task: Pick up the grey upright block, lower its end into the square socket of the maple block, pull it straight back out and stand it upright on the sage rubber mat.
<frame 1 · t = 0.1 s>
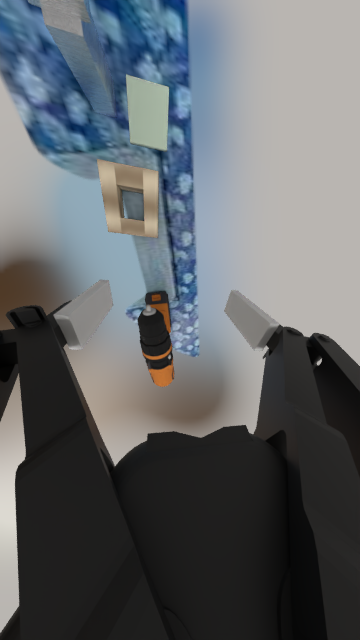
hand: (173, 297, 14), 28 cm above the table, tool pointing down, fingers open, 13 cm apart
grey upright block: (104, 97, 23), on the table
socket block: (134, 207, 31), on the table
mat: (148, 118, 24), on the table
power drill: (158, 303, 45), on the table
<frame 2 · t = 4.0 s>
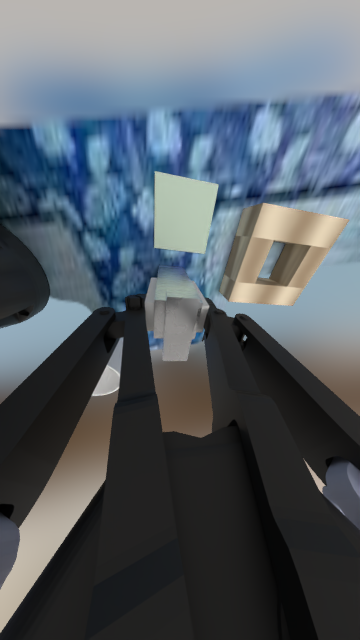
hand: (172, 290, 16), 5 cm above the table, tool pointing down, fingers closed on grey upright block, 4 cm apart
white cup: (114, 330, 25), on the table
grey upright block: (170, 278, 20), on the table, touching gripper
socket block: (262, 260, 20), on the table
mat: (183, 219, 16), on the table
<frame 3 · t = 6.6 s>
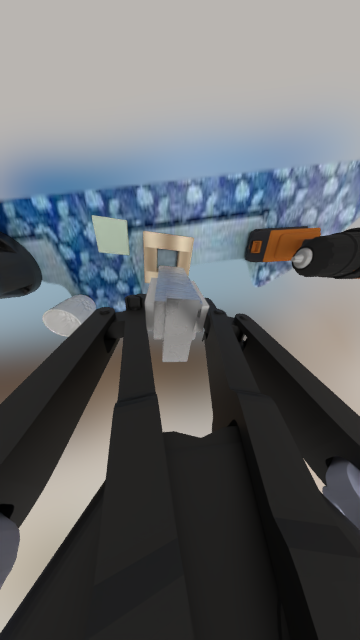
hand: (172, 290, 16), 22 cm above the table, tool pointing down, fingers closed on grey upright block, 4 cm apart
white cup: (84, 304, 39), on the table
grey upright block: (170, 278, 20), point 17 cm above the table, touching gripper
socket block: (167, 259, 34), on the table
mat: (112, 236, 31), on the table
power drill: (261, 244, 35), on the table
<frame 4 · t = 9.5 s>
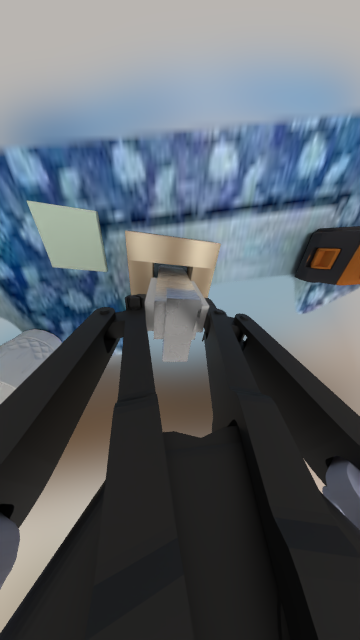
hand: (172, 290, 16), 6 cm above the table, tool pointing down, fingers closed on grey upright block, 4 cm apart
white cup: (44, 341, 26), on the table
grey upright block: (170, 278, 20), point 1 cm above the table, touching gripper
socket block: (170, 276, 21), on the table
mat: (74, 241, 17), on the table
power drill: (322, 253, 22), on the table
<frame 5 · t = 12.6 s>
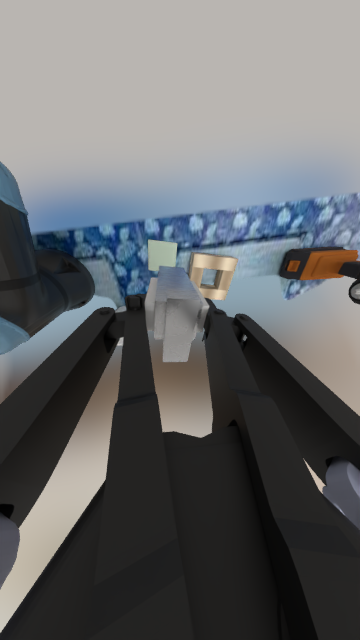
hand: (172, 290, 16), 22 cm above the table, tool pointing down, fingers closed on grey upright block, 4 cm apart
white cup: (126, 314, 43), on the table
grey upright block: (170, 278, 20), point 17 cm above the table, touching gripper
socket block: (207, 275, 37), on the table
mat: (162, 257, 34), on the table
power drill: (295, 262, 38), on the table
when the fingers open (7 cm above the table, at t = 15.2 s): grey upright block drops 1 cm, resting on mat.
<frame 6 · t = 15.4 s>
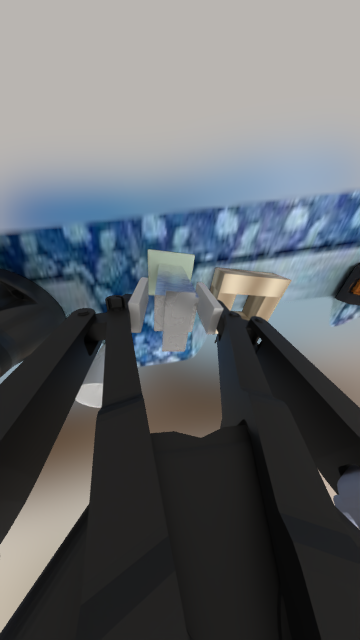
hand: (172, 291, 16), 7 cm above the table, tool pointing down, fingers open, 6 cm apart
white cup: (117, 351, 30), on the table
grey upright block: (170, 276, 21), point 1 cm above the table, touching mat
socket block: (234, 299, 26), on the table
mat: (170, 275, 22), on the table
power drill: (358, 279, 26), on the table
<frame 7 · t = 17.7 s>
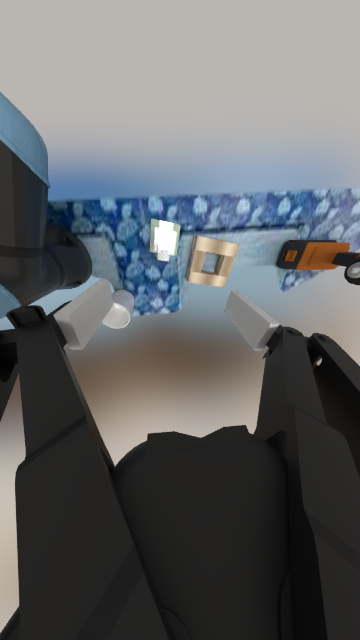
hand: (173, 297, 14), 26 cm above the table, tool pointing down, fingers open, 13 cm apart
white cup: (123, 299, 42), on the table
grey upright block: (164, 239, 33), point 1 cm above the table, touching mat
socket block: (208, 261, 38), on the table
mat: (164, 238, 33), on the table
power drill: (292, 253, 39), on the table
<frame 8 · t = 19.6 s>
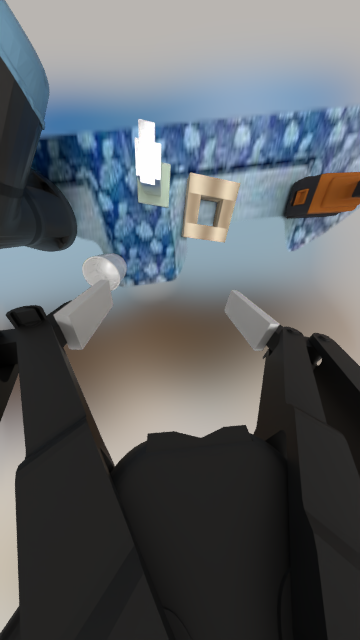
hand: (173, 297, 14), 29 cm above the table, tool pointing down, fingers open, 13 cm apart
white cup: (115, 265, 38), on the table
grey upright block: (153, 184, 29), point 1 cm above the table, touching mat
socket block: (205, 213, 33), on the table
mat: (153, 185, 30), on the table
power drill: (301, 200, 34), on the table
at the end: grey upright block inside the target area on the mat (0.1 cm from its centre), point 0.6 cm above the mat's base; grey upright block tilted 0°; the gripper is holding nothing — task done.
